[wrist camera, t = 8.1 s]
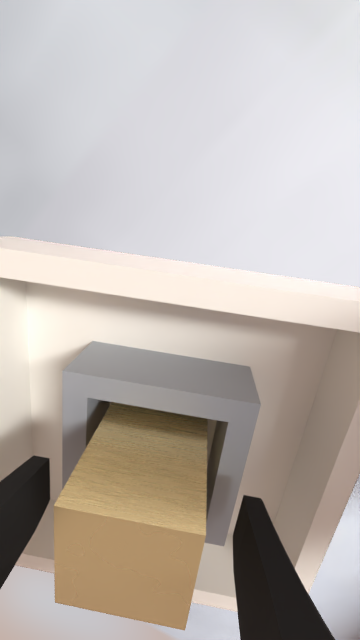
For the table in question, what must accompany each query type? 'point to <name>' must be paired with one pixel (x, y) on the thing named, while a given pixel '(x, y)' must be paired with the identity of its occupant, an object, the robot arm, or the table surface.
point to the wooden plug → (134, 517)
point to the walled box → (186, 385)
